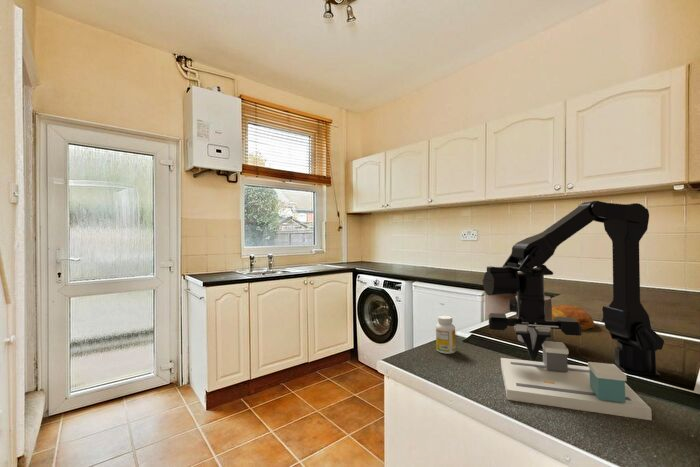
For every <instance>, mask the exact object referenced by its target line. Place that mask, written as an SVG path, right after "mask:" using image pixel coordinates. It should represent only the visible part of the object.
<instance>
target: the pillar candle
mask: <svg viewBox="0 0 700 467" xmlns="http://www.w3.org/2000/svg"><path fill="white" fill-rule="evenodd" d="M544 297H545V320H552V306H553V305H552V304H553V303H552V297H551V296H549V295H545V294H544ZM515 299H516V300H517V295H516V296H515ZM516 318H518V317H517V316H516ZM523 323H524V322H523ZM525 323H526V322H525ZM534 324H535V323H534ZM528 331H529V333H530V336H531V343H532V346H533V327H528ZM550 333H551V337H547V338H546V339H545V341H552V342H555V340H554V329H551V330H550ZM517 340H518V341H519V342H521V343H523V344H525V342H524V340H523V338H522V336H521V335H517Z"/></svg>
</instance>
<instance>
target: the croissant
mask: <svg viewBox="0 0 700 467" xmlns="http://www.w3.org/2000/svg"><path fill="white" fill-rule="evenodd" d="M556 317H572V318H574V319H575V320H576V321H577V322H578V323H579V324H580V325H581V331H582V330H588V329H591V328H594V327H595V321H594V320H593V318H592V316H591V314H589V313H588V312H587V311H586V310H584V309H583V308H582V307H578V306H575V305H571V304H561V305H552V320H553V321H555V318H556Z"/></svg>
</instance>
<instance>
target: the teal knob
mask: <svg viewBox="0 0 700 467" xmlns="http://www.w3.org/2000/svg"><path fill="white" fill-rule="evenodd" d="M587 367H589V370H590V388H591V389H592V391H593V392H594V393H595V395H596V396H597V397H598V399H602V400H609V401H617V402H624V403H625V383H626V382H627V375H626V374H625V372H624V371H623V370H622V369H621V368H620V367H619V366H618V365H617V364H616V363H615V364H614V363H606V362H604V363H603V362H595V361H593V362H592V361H587Z"/></svg>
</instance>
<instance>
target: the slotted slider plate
mask: <svg viewBox="0 0 700 467" xmlns="http://www.w3.org/2000/svg"><path fill="white" fill-rule="evenodd" d="M500 369H501V374H502V378H503V384H504V389H505V395H506V396H505V397H506V400H507V401H508V400H509V401H514V402H515V401H516V402H520V403H522V402H523V403H528V404H535V405H543V406H550V407H557V408H562V409H564V408H565V409H568V410H569V409H570V410H577V411H584V412H592V413H598V414H605V415H611V416H618V417H619V416H620V417H626V418H631V419H632V418H633V419H638V420H647V421H652V420H653V419H652V418H653V417H652V408H651V407H650V406H649V405H648V404H647V403H646V402H645V401H644V400H643V399H642V398H641V397H640V396H639V395H638V394H637V393H636V392H635V391H634V390H633V389H632V388H631V387H630V386H629V385H628V384H627V383H626V382H625V403H624V402H617V401H609V400H602V399H598V397H597V396H596V395H595V393H594V392H593V391H592V389H591V388H590V370H589V367H588V366H584V365H574V364H568V372H563V371H554V370H547V368H546V367H545V365H544V363H543V361H536V360H535V361H534V360H526V359H517V358H516V359H515V358H505V357H500Z"/></svg>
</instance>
